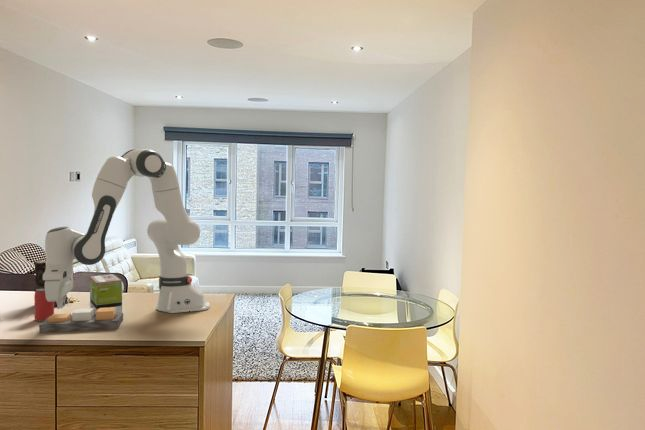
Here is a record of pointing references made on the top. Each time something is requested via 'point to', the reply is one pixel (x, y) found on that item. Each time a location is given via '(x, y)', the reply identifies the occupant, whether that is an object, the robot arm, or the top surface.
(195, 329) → the top surface
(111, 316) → the key
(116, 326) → the dark grey tray
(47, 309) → the beer can
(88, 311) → the key middle
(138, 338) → the top surface
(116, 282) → the tea box
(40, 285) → the owl
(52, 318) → the key
